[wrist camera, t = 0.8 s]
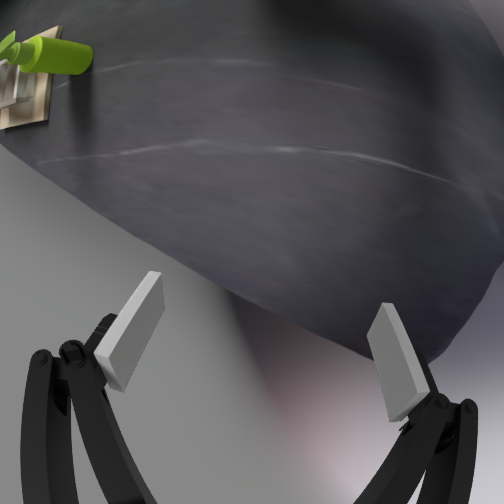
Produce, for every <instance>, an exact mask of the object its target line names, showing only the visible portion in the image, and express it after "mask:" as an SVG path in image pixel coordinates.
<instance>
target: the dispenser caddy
mask: <svg viewBox="0 0 504 504" xmlns="http://www.w3.org/2000/svg"><path fill="white" fill-rule="evenodd" d="M62 28H63V27H61V26H56V27H54V28H52V29H49V30H47V31H45V32H42V33H40V34H38V35H36V36H42V37H49V38H55V39H60V36H61V32H62ZM34 37H35V36H34ZM32 38H33V37H32ZM30 39H31V38H30ZM30 39H28V40H26V41H24V42H22V43H27V42H28V41H29V40H30ZM52 77H53V73H23V72H21V71H20V69H19V65H9V64H8V63H7V59H4V60H2V61H1V62H0V109H1V119H0V129H4V128H8V127H12V126H17V125H21V124H26V123H31V122H36V121H42V120H48V117H49V103H50V93H51V85H52Z"/></svg>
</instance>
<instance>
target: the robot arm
mask: <svg viewBox="0 0 504 504" xmlns="http://www.w3.org/2000/svg"><path fill="white" fill-rule="evenodd" d="M164 310H165V305H164V295H163V284H162V273H159V272H154V271H149V273H148V274H147V275H146V277H145V278H144V279H143V281H142V282H141V283H140V285H139V286H138V288H137V289H136V290H135V292H134V293H133V295H132V296H131V297H130V299H129V300H128V302H127V303H126V305H125V306H124V307H123V309H122V310H121V312H120V313H119V315H115V314H112V313H110V314H108V315H107V316H106V317H104V318H103V319H102V321H101V322H100V323H99V325H98V327H96V329H95V330H94V332H93V333H92V335H91V336H90V338H89V339H88V340H87V342H86V343H85V345H83V343H81V342H80V341H78V340H69V341H66V342H65V343H64V344H62V345H61V347H60V349H59V355H60V357H61V358H58V357H53V356H52V354H51V352H50V351H48V350H45V349H42V350H38V351H36V352H35V353H34V354H33V355H32V358H31V361H30V366H29V371H28V376H27V382H26V388H25V396H24V403H23V412H22V424H21V447H20V448H21V449H20V458H21V459H20V461H21V483H22V493H23V502H24V504H79V502H78V496H77V490H76V483H75V476H74V467H73V456H72V441H71V399H72V403H73V407H74V411H75V415H76V419H77V422H78V425H79V429H80V433H81V436H82V439H83V442H84V445H85V448H86V451H87V454H88V457H89V460H90V462H91V465H92V467H93V470H94V473H95V475H96V478H97V480H98V482H99V485H100V487H101V489H102V491H103V493H104V496H105V498H106V499H107V502H108V504H157V502H156V501H155V499H154V498H153V496H152V494H151V492H150V490H149V489H148V487H147V485H146V483H145V482H144V480H143V478H142V476H141V474H140V472H139V470H138V468H137V466H136V464H135V462H134V460H133V458H132V456H131V454H130V452H129V450H128V447H127V445H126V443H125V441H124V438H123V436H122V434H121V431H120V429H119V426H118V424H117V421H116V419H115V416H114V413H113V411H112V408H111V405H110V402H109V399H108V397H107V393H106V391H105V388H104V386H105V385H106V383H108V384H109V387H110V388H112V389H114V390H118V391H120V392H124V391H125V388H126V386H127V384H128V382H129V380H130V378H131V376H132V374H133V372H134V370H135V367H136V365H137V363H138V361H139V359H140V357H141V355H142V353H143V351H144V349H145V347H146V345H147V343H148V341H149V339H150V337H151V335H152V333H153V331H154V329H155V327H156V325H157V323H158V321H159V319H160V318H161V316H162V314H163V312H164ZM367 338H368V341H369V344H370V348H371V351H372V355H373V358H374V362H375V365H376V369H377V372H378V376H379V380H380V384H381V387H382V392H383V395H384V400H385V404H386V408H387V413H388V417H389V422H396V421H402V420H403V419H404V418H405V417H406V416H407V415H408V418H409V421H408V422H406V423H405V424H404V425H403V426H402V427H401V428H400V429H399V431H401V430H402V429H403V430H402V432H401V434H400V435H399V437H398V439H397V441H396V442H395V444H394V446H393V448H392V449H391V451H390V452H389V455H388V456H387V457H386V459H385V460H384V462H383V464H382V465H381V467H380V468H379V470H378V471H377V473H376V474H375V476H374V477H373V478H372V480H371V482H370V483H369V484H368V485H367V487H366V488H365V489H364V491H363V492H362V494H361V495H360V496H359V497H358V498H357V500H356V501H355V502H354V503H353V504H407V503H408V501H409V500H410V498H411V496H412V495H413V493H414V491H415V489H416V488H417V486H418V484H419V482H420V480H421V478H422V476H423V474H424V472H425V470H426V472H425V476H424V480H423V484H422V488H421V491H420V494H419V497H418V500H417V503H416V504H468V502H469V497H470V493H471V488H472V482H473V476H474V469H475V461H476V460H475V459H476V450H477V436H478V407H477V405H476V403H475V402H474V401H473V400H471V399H465V400H463V401H462V402H461V403H460V404H457V403H452V402H450V401H449V399H448V398H447V397H446V396H445V395H444V394H441V393H439V392H438V389H437V386H436V384H435V381H434V379H433V376H432V374H431V373H430V369H429V367H428V364H427V362H426V359H425V358H424V356H423V355H422V354H421V353H420V352H415V351H414V349H413V347H412V344H411V342H410V340H409V337H408V335H407V333H406V331H405V328H404V326H403V324H402V322H401V320H400V318H399V315H398V313H397V311H396V309H395V307H394V305H393V304H391V303H382V305H381V307H380V309H379V311H378V313H377V315H376V318H375V320H374V322H373V324H372V326H371V328H370V330H369V332H368V334H367Z"/></svg>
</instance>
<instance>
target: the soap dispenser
mask: <svg viewBox="0 0 504 504" xmlns="http://www.w3.org/2000/svg"><path fill="white" fill-rule="evenodd" d="M14 43H15V31H13V32H12V33H11V34H10V35H8V36H7V37H6V38H5V39H4V40H3V41H2V42H1V43H0V59H7V63H8V64H9V65H19V69H20V71H21V72H23V73H56V74H71V75H79V74H81V73H83V72H84V71H86V70H87V68H88V67H89V66H90V64H91V62H92V59H93V50H92V48H91V47H90V46H88V45H83V44H79V43H75V42H70V41H65V40H60V39H55V38H49V37H42V36H35V37H33V38H31V39H30V40H29V41H28V42H27V43H22V42H17V43H15V44H14ZM13 44H14V45H13ZM11 45H13V46H12V47H11V48H9V47H10V46H11Z"/></svg>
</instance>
